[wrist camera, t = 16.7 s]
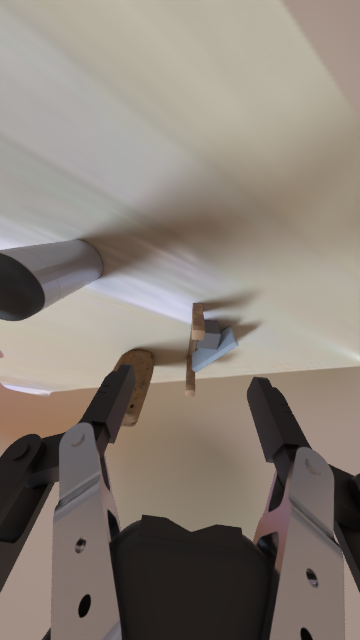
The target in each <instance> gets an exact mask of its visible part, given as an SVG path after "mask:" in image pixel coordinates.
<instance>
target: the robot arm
mask: <svg viewBox="0 0 360 640" xmlns="http://www.w3.org/2000/svg"><path fill="white" fill-rule="evenodd" d="M102 271H103V263H102V260H101V257H100V255H99V254H98V252H97V251H96V250H95V249H94V248H93V247H92V246H91V245H90V244H88V243H86V242H84V241H81V240H72V241H65V242H56V243H49V244H41V245H34V246H26V247H19V248H11V249H5V250H0V319H2V320H7V321H20V320H24V319H26V318H28V317H30V316H32V315H34V314H36V313H38V312H39V311H41V310H43V309H44V308H46V307H48V306H50V305H52V304H53V303H55V302H57V301H59V300H60V299H62V298H64V297H66V296H67V295H69V294H71V293H73V292H75V291H76V290H78V289H80V288H82V287H84V286H85V285H87V284H89V283H91V282H93V281H94V280H96V279H98V278H99V277H100V275H101V274H102ZM135 383H136V378H135V371H134V365H132V364H121V365H120V367H119V369H118V370H117V371H112V372H111V373H110V374H108V375H107V376H106V377H105V379H104V381H103V382H102V384H101V386H100V388H99V389H98V391H97V393H96V395H95V396H94V398H93V400H92V401H91V403H90V405H89V407H88V408H87V410H86V412H85V413H84V415H83V417H82V419H81V420H80V421H79V422H78V423H77V424H76V425H75V426H73V427H71V428H70V429H69V430H68V431H67V432H64V433H62V434H57V435H53V436H49V437H45V438H41V437H40V436H38V435H37V434H29V435H26V436H23V437H22V438H20V439H18V440H17V441H15V442H14V443H13V444H11V445H10V446H9V447H8V448H7V450H6V451H5V452H4V453H3V455H2V456H1V457H0V592H1V590H2V588H3V586H4V584H5V582H6V580H7V578H8V576H9V574H10V572H11V570H12V568H13V566H14V564H15V562H16V560H17V558H18V556H19V554H20V552H21V550H22V548H23V546H24V544H25V542H26V540H27V538H28V536H29V533H30V532H31V530H32V528H33V525H34V524H35V522H36V519H37V517H38V515H39V513H40V511H41V509H42V507H43V505H44V503H45V501H46V499H47V497H48V495H49V493H50V491H51V489H52V487H53V485H54V483H55V482H58V481H59V503H58V505H57V506H56V508H55V511H54V517H53V547H52V549H53V550H52V598H51V628H50V629H49V630H48V632H47V634H46V635H45V636H44V637H43V639H42V640H345V612H344V611H345V610H344V560H343V554H344V556H345V559H346V561H347V564H348V566H349V568H350V571H351V573H352V575H353V577H354V580H355V583H356V585H357V587H358V590H359V592H360V474H358V475H356V476H353V475H351V474H349V473H347V472H344V471H342V470H340V469H338V468H335V467H334V466H331V465H330V464H328V463H327V462H326V461H325V459H324V458H323V457H322V456H321V455H320V454H318V453H317V452H316V451H314V450H312V448H311V447H310V445H309V443H308V442H307V440H306V438H305V436H304V434H303V432H302V430H301V428H300V426H299V424H298V422H297V421H296V419H295V417H294V415H293V414H292V411H291V409H290V407H289V406H288V403H287V401H286V399H285V398H284V396H283V395H282V393H281V392H280V391H279V390H278V389H277V388H274V387H272V385H271V383H270V381H269V380H268V379H267V378H263V377H254V378H253V379H252V382H251V384H250V386H249V388H248V390H247V400H248V403H249V407H250V410H251V413H252V416H253V420H254V423H255V426H256V429H257V433H258V436H259V439H260V443H261V446H262V449H263V453H264V456H265V459H266V462H270V463H274V464H275V467H276V471H275V473H274V477H273V481H272V485H271V488H270V492H269V496H268V500H267V504H266V507H265V510H264V513H263V515H262V517H261V518H260V520H259V523H258V526H257V529H256V532H255V535H254V539H253V542H252V541H251V540H250V539H248V538H247V537H246V536H244V535H242V530H241V528H239V527H232V526H224V525H217V524H216V525H214V526H210V527H207V528H204V529H200V530H197V531H194V532H190V531H188V530H186V529H184V528H182V527H181V526H179V525H177V524H176V523H174V522H172V521H171V520H169V519H167V518H164V517H156V516H149V515H142V519H141V520H139V521H136V522H134V523H132V524H130V525H129V526H127V527H126V528H125V529H124V530H122V531H121V527H120V522H119V517H118V512H117V508H116V503H115V500H114V496H113V493H112V489H111V483H110V478H109V473H108V468H107V463H106V457H105V450H106V447H107V444H108V443H113V444H114V442H115V440H116V437H117V434H118V431H119V429H120V426H121V423H122V421H123V418H124V415H125V412H126V410H127V407H128V404H129V401H130V399H131V396H132V393H133V390H134V387H135ZM333 530H334V533H335V535H336V537H337V540H338V542H339V544H338V543H337V542H336V541H335V539H334V534H333ZM339 545H340V546H339ZM340 547H341V548H340ZM341 549H342V550H341ZM342 552H343V554H342Z"/></svg>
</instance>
